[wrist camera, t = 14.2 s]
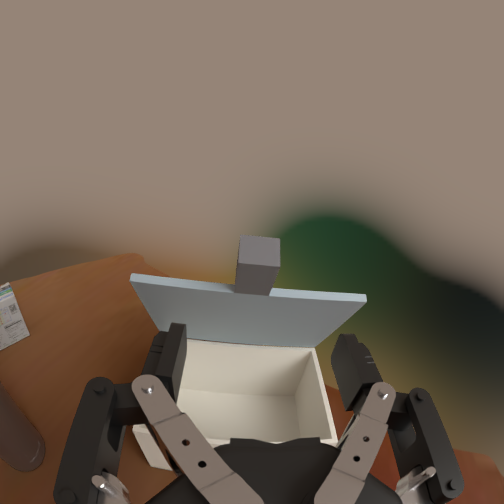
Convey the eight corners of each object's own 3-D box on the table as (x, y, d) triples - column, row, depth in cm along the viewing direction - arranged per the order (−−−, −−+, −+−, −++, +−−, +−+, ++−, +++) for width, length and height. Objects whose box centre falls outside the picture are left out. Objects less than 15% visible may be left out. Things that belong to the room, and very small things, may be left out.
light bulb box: (22, 320, 46) (9, 280, 42) (31, 335, 43) (15, 294, 39) (-11, 337, 38) (-28, 297, 33) (-5, 354, 35) (-25, 313, 30)
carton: (150, 466, 28) (132, 430, 23) (168, 385, 42) (161, 335, 37) (308, 475, 29) (338, 442, 24) (296, 395, 44) (314, 348, 39)
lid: (113, 249, 19) (122, 224, 21) (161, 334, 37) (164, 318, 38) (393, 276, 21) (387, 250, 22) (314, 347, 38) (314, 331, 40)
